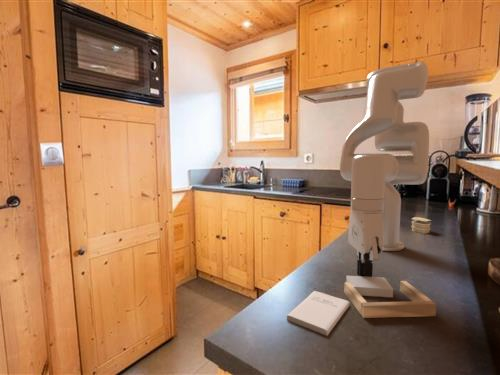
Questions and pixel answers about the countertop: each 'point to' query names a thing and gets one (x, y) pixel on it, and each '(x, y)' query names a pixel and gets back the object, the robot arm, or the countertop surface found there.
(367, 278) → the light grey slab
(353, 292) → the pine rack
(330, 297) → the external hard drive
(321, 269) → the countertop surface
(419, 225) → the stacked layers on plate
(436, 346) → the countertop surface
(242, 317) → the countertop surface
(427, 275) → the countertop surface
